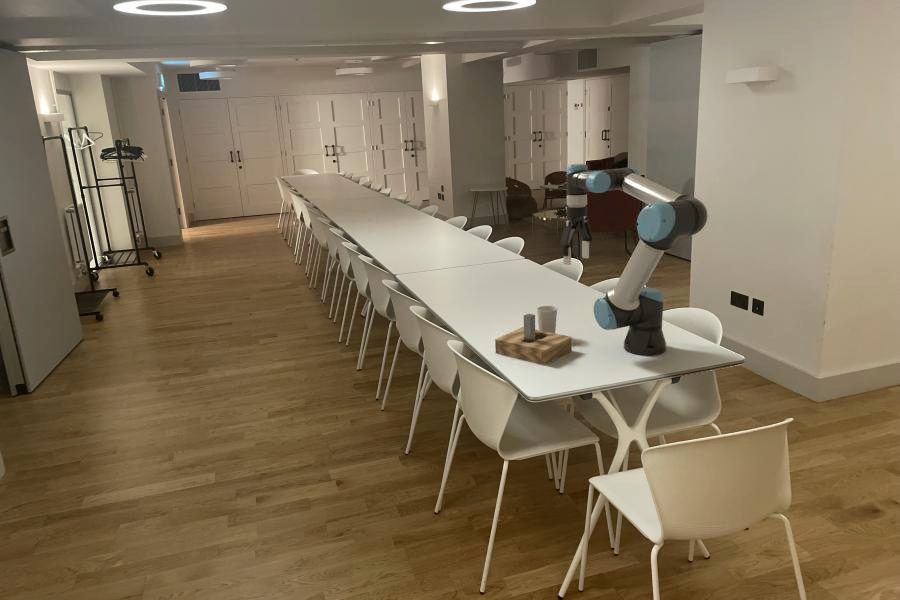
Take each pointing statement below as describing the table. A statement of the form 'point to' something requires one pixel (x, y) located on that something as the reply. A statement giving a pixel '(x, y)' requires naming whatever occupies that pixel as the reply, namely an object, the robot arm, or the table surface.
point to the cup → (547, 318)
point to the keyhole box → (534, 346)
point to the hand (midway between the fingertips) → (576, 261)
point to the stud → (529, 328)
